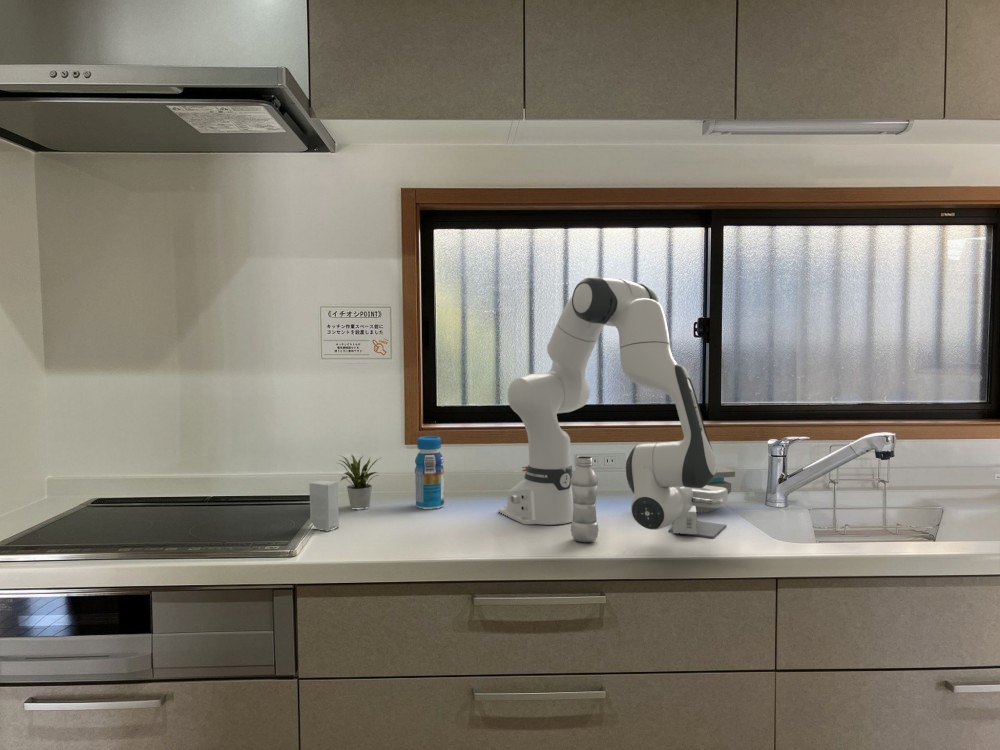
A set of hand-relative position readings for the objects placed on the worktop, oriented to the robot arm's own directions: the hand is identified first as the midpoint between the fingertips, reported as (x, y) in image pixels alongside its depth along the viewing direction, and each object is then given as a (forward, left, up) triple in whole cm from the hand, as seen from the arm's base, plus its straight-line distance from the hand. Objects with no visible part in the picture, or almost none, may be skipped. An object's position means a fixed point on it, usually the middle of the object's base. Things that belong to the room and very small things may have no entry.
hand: (691, 486), depth 163 cm
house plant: (-79, -49, -12) cm, 94 cm away
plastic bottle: (-14, -23, -12) cm, 30 cm away
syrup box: (0, -2, -9) cm, 9 cm away
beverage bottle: (-66, -32, -12) cm, 74 cm away
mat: (-2, +5, -12) cm, 13 cm away
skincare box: (-65, -65, -12) cm, 93 cm away
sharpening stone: (-15, +20, -12) cm, 28 cm away
